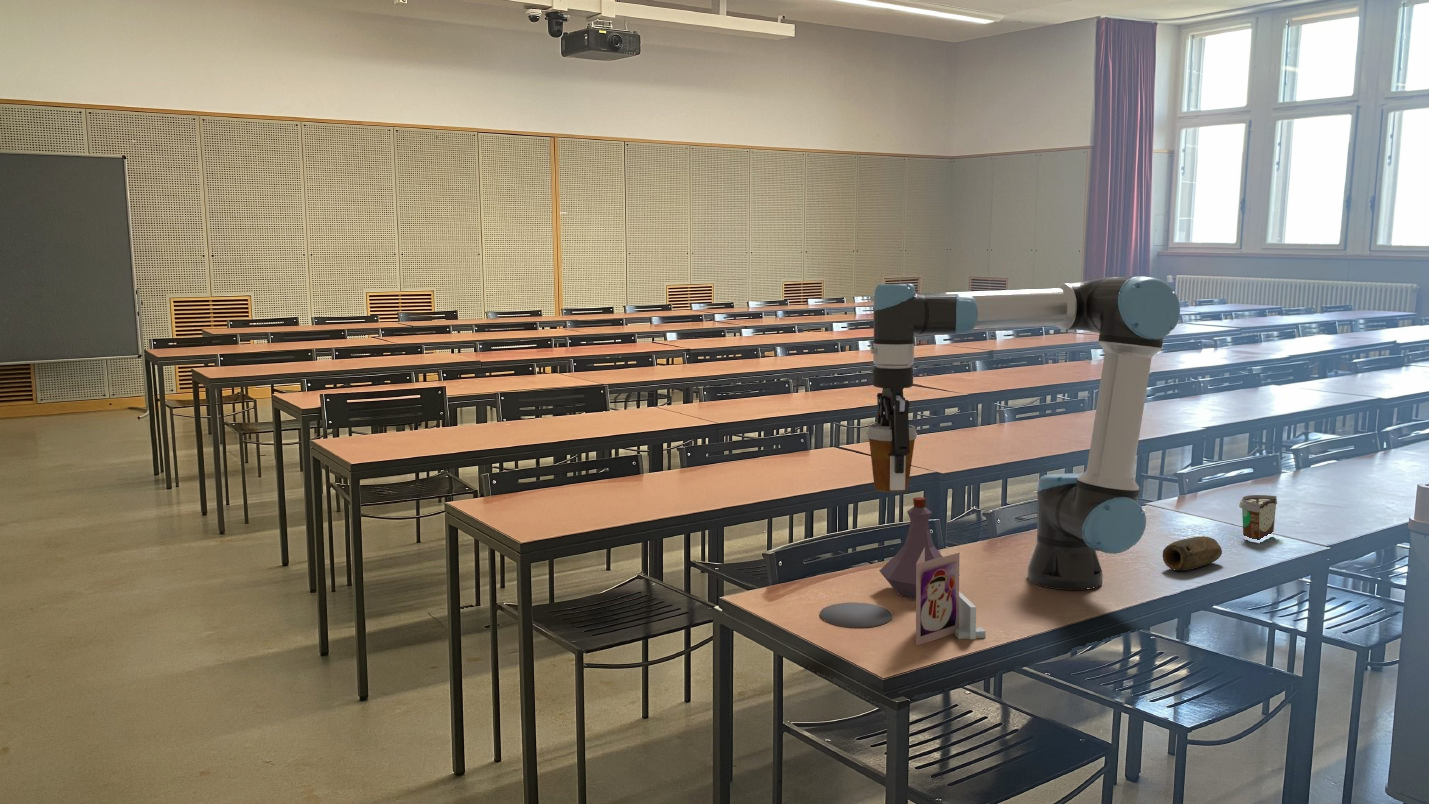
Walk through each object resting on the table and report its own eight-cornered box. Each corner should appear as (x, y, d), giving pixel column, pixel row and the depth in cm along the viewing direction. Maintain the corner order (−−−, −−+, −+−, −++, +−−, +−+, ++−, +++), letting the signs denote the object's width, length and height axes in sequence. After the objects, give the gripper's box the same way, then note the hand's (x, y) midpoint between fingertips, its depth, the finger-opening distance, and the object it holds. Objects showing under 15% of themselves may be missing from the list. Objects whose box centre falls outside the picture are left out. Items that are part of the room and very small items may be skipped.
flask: (862, 589, 210) (862, 496, 208) (921, 576, 218) (922, 487, 216) (915, 611, 196) (916, 511, 194) (976, 596, 204) (977, 500, 202)
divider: (956, 608, 197) (956, 578, 196) (986, 638, 180) (986, 606, 179) (931, 609, 197) (931, 579, 196) (959, 639, 180) (959, 607, 179)
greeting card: (919, 647, 177) (919, 565, 175) (889, 635, 183) (889, 556, 181) (962, 632, 183) (963, 553, 182) (931, 622, 189) (932, 545, 188)
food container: (1248, 531, 250) (1250, 492, 249) (1275, 535, 246) (1277, 495, 245) (1229, 540, 242) (1231, 500, 241) (1256, 545, 237) (1258, 504, 236)
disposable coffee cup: (855, 489, 190) (856, 426, 189) (885, 481, 197) (885, 421, 195) (897, 496, 183) (898, 431, 182) (926, 488, 190) (927, 426, 189)
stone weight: (1190, 577, 214) (1192, 547, 213) (1159, 570, 219) (1160, 540, 219) (1224, 564, 223) (1225, 535, 222) (1193, 557, 229) (1194, 529, 228)
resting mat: (882, 602, 201) (882, 600, 201) (900, 626, 188) (900, 624, 188) (813, 605, 200) (813, 604, 200) (827, 629, 187) (827, 628, 186)
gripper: (860, 362, 197) (859, 475, 200) (888, 371, 177) (886, 497, 179) (897, 361, 198) (895, 474, 201) (929, 370, 177) (926, 496, 180)
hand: (891, 484), depth 190 cm, fingers closed on disposable coffee cup, 8 cm apart
